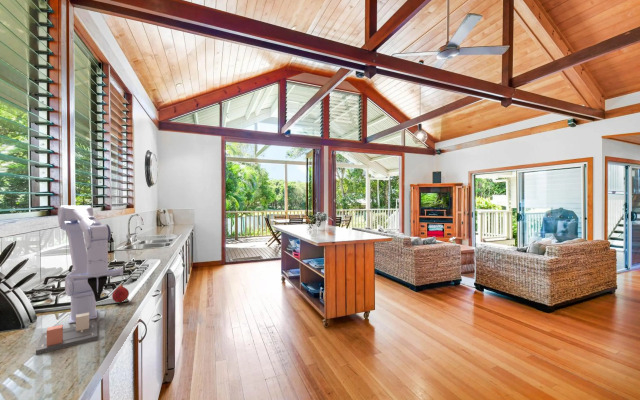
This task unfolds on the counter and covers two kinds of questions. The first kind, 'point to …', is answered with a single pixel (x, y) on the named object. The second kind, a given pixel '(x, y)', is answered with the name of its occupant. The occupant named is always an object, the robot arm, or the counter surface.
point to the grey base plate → (69, 338)
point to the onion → (120, 294)
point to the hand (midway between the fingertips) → (97, 298)
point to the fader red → (54, 335)
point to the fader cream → (82, 321)
